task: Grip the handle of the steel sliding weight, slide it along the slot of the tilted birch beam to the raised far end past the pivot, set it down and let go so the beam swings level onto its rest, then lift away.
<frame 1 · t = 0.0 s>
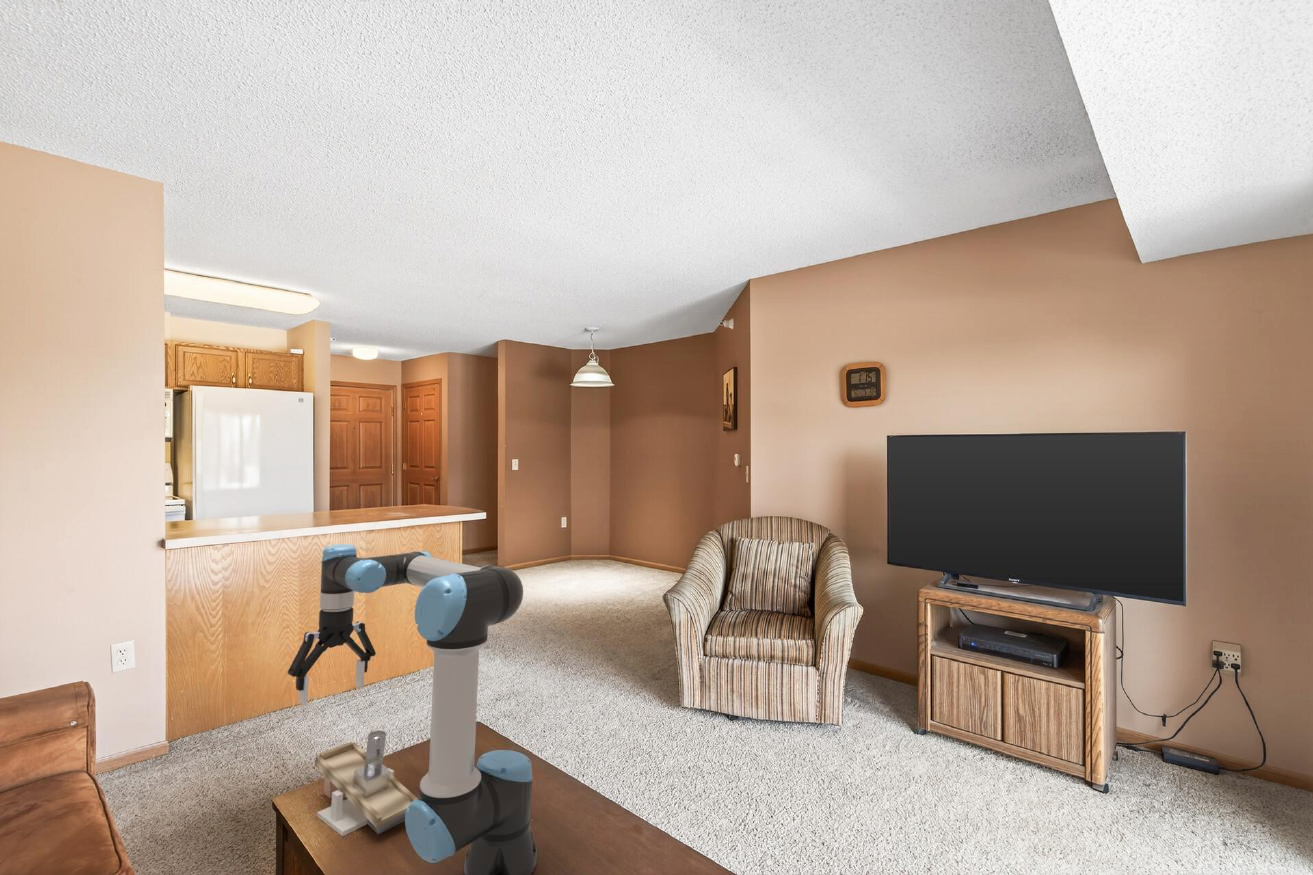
hand: (332, 694, 147), 28 cm above the table, tool pointing down, fingers open, 13 cm apart
stand: (362, 810, 146), on the table
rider: (370, 786, 145), point 7 cm above the table, tilted 8°, touching beam
beam: (364, 784, 147), point 6 cm above the table, hinge at -8.2°, touching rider
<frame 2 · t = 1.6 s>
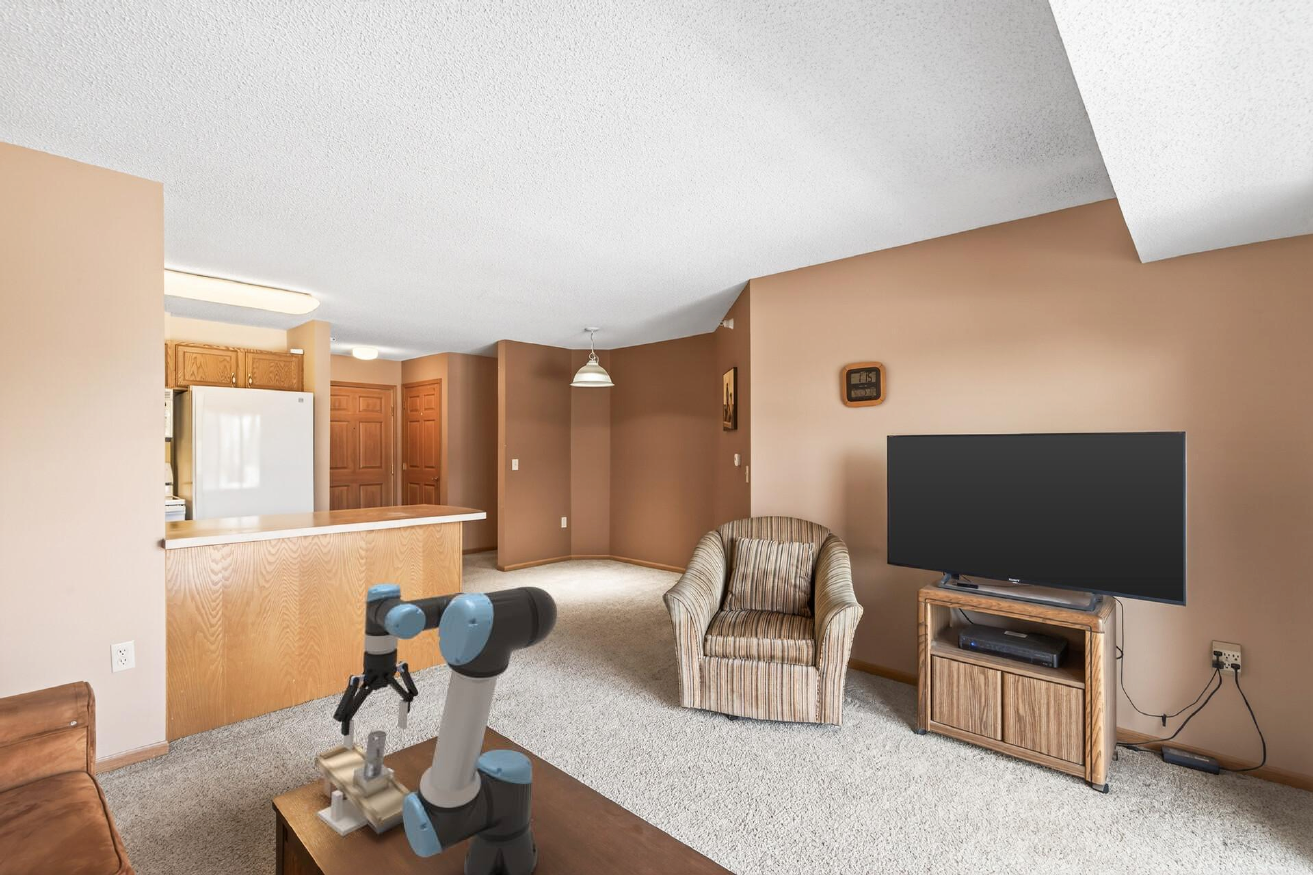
hand: (376, 737, 145), 19 cm above the table, tool pointing down, fingers open, 13 cm apart
nothing on the table moved.
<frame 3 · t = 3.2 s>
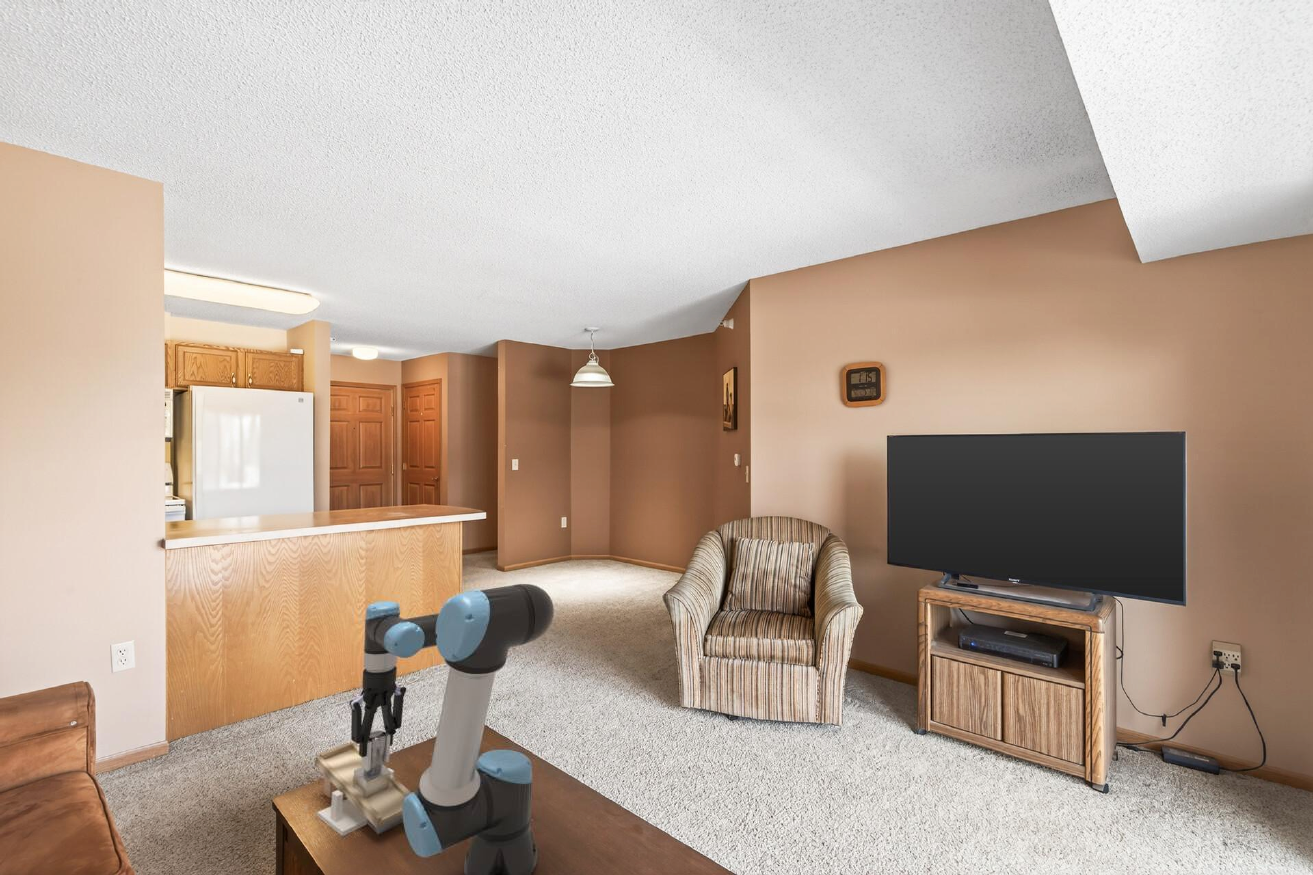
hand: (375, 764, 144), 13 cm above the table, tool pointing down, fingers closed on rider, 4 cm apart
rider: (370, 786, 145), point 7 cm above the table, tilted 8°, touching beam, gripper
everything else where it was.
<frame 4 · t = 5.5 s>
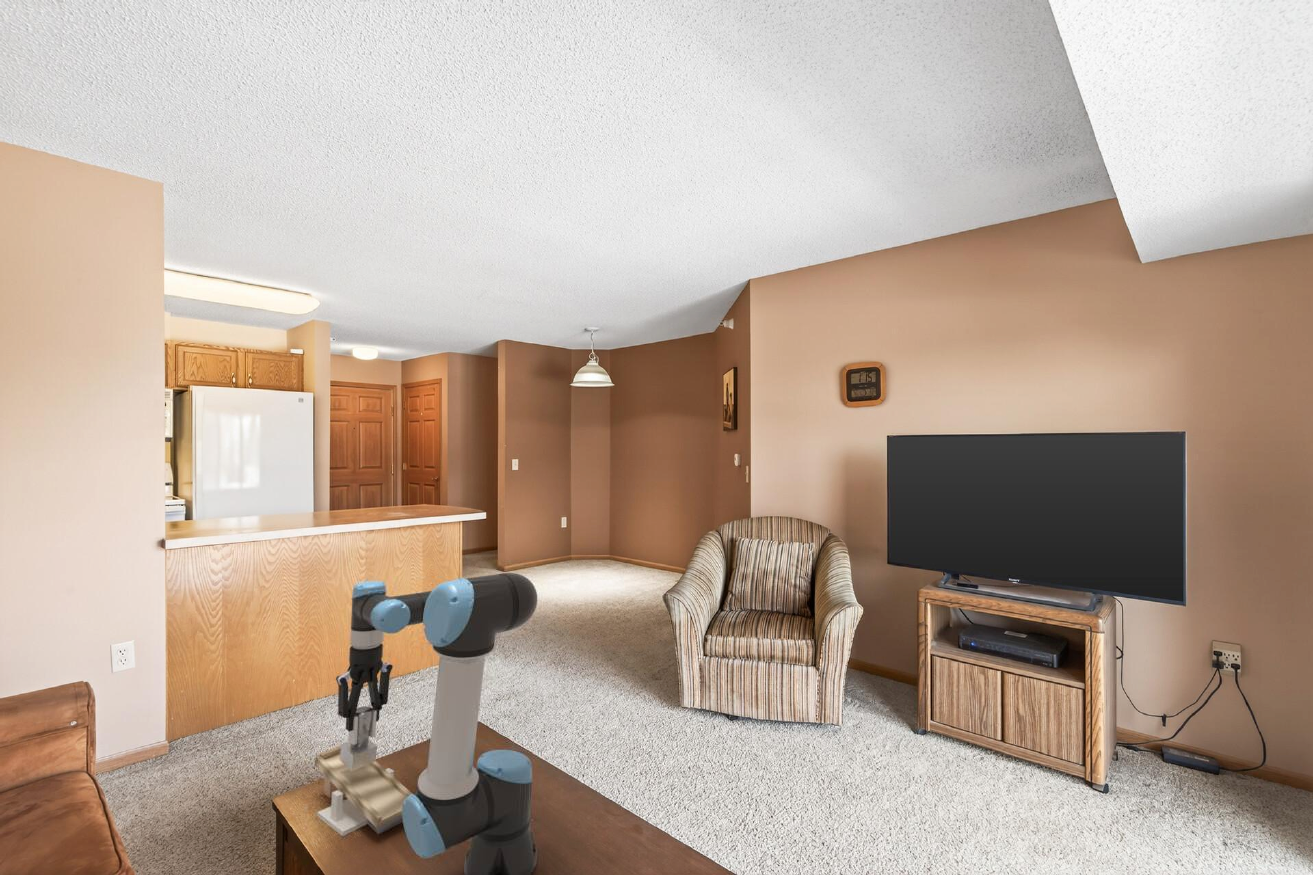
hand: (361, 738, 148), 17 cm above the table, tool pointing down, fingers closed on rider, 4 cm apart
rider: (357, 760, 149), point 11 cm above the table, tilted 8°, touching gripper
beam: (364, 784, 147), point 6 cm above the table, hinge at -8.2°
everything else where it was.
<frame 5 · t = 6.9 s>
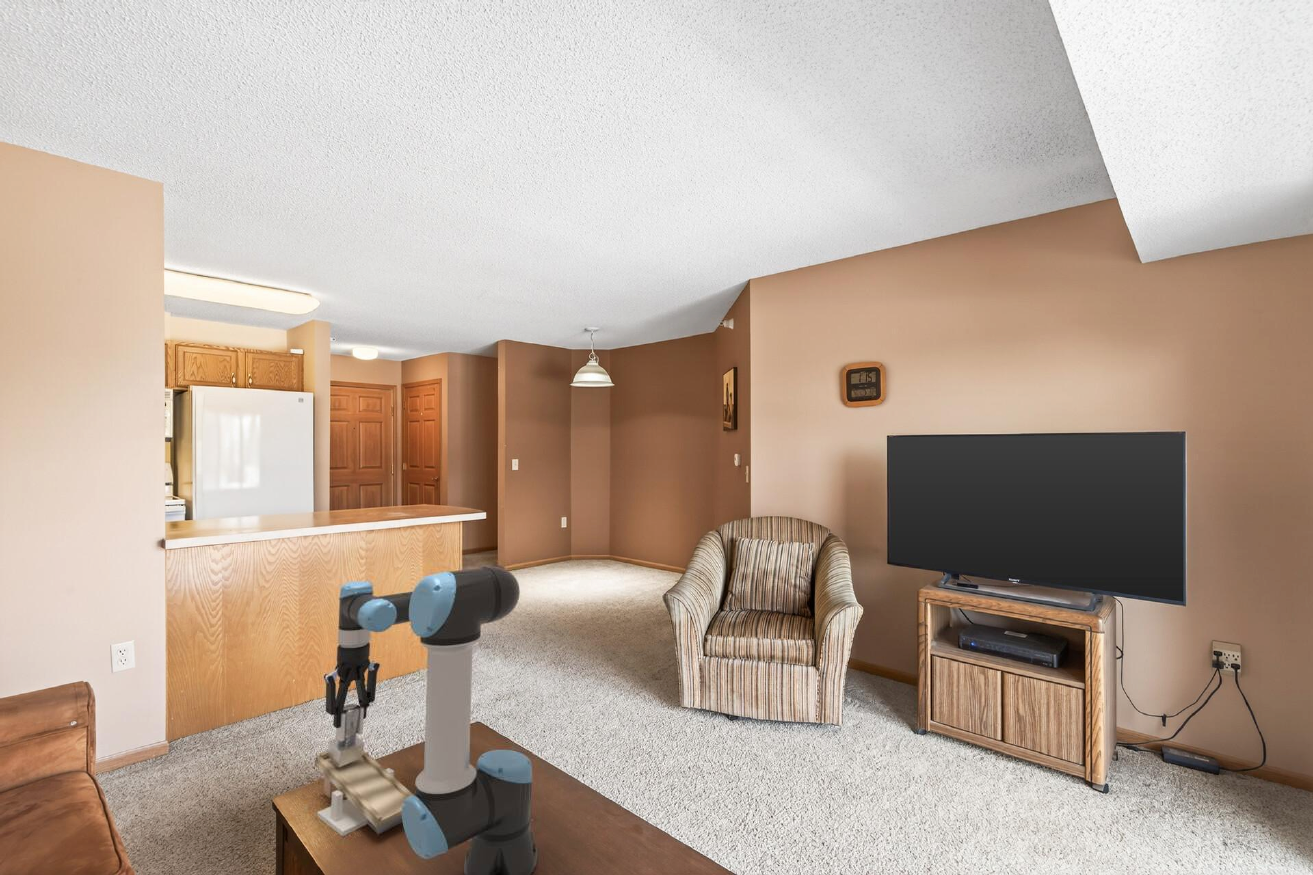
hand: (349, 735, 152), 16 cm above the table, tool pointing down, fingers closed on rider, 4 cm apart
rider: (344, 756, 152), point 10 cm above the table, tilted 8°, touching gripper
everything else where it was.
when the fingers open (15 cm above the table, at t = 7.6 s): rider drops 2 cm, resting on beam.
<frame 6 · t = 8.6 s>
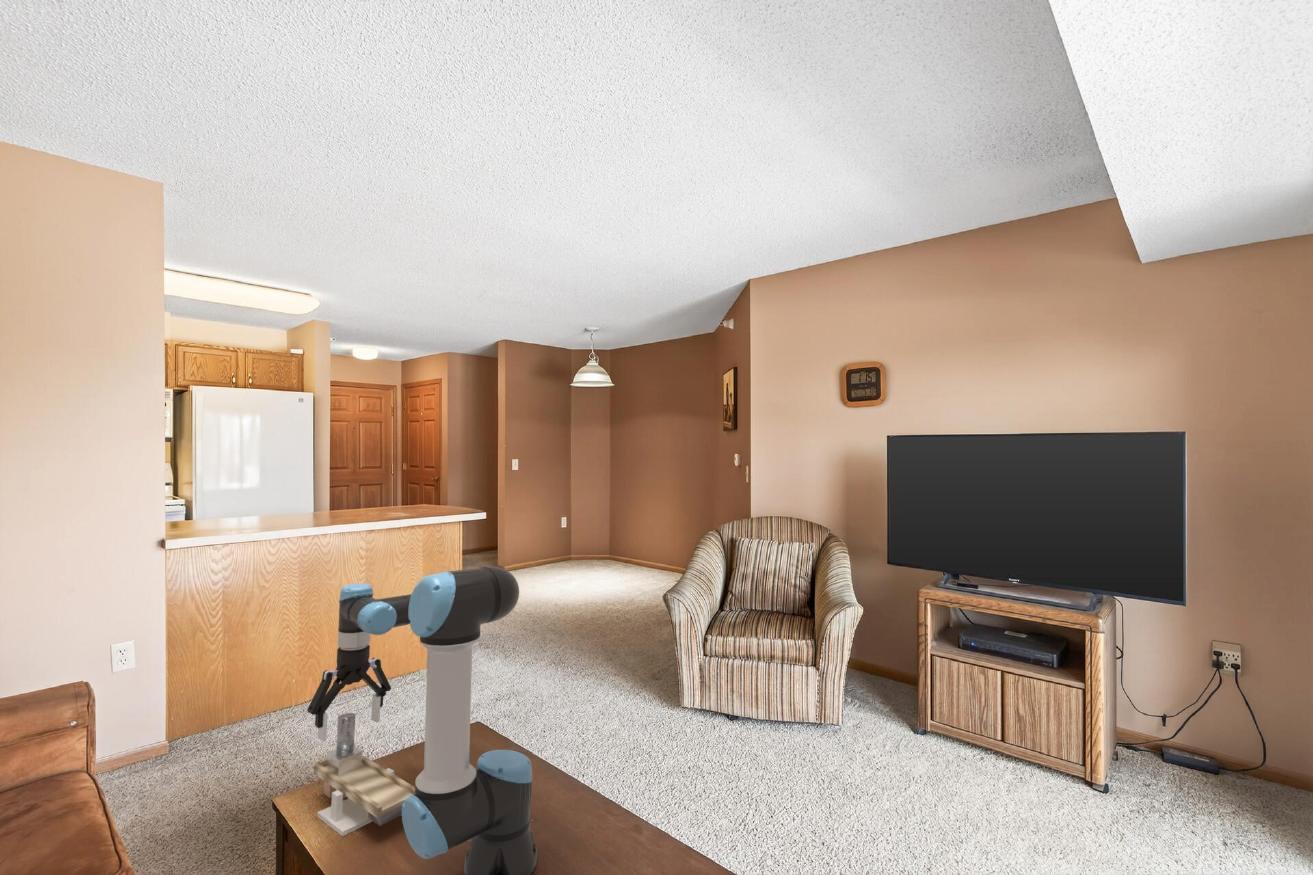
hand: (349, 729, 152), 17 cm above the table, tool pointing down, fingers open, 13 cm apart
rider: (344, 767, 152), point 7 cm above the table, touching beam
beam: (364, 784, 147), point 6 cm above the table, hinge at 0.2°, touching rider
everything else where it was.
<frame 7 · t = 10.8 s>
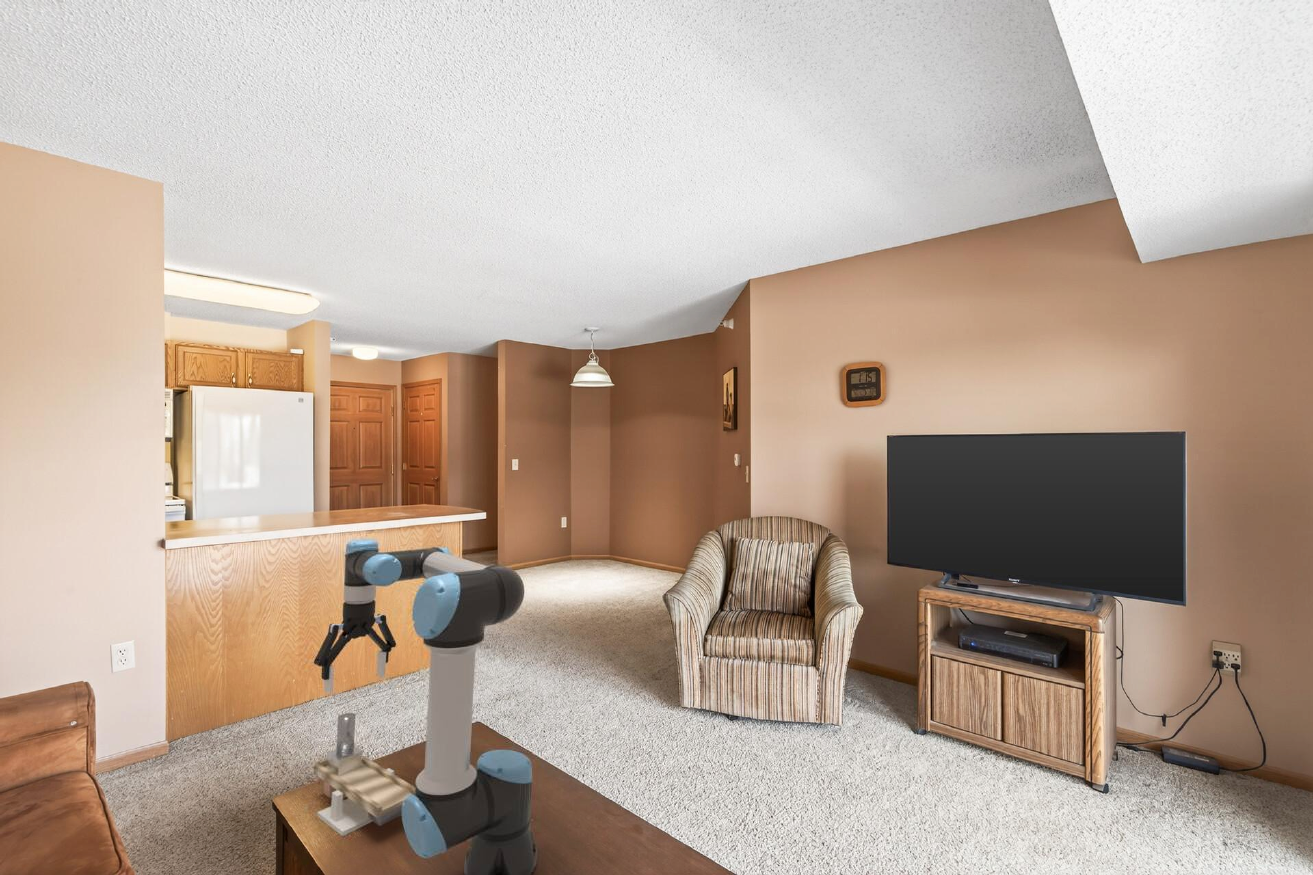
hand: (355, 683, 152), 29 cm above the table, tool pointing down, fingers open, 13 cm apart
nothing on the table moved.
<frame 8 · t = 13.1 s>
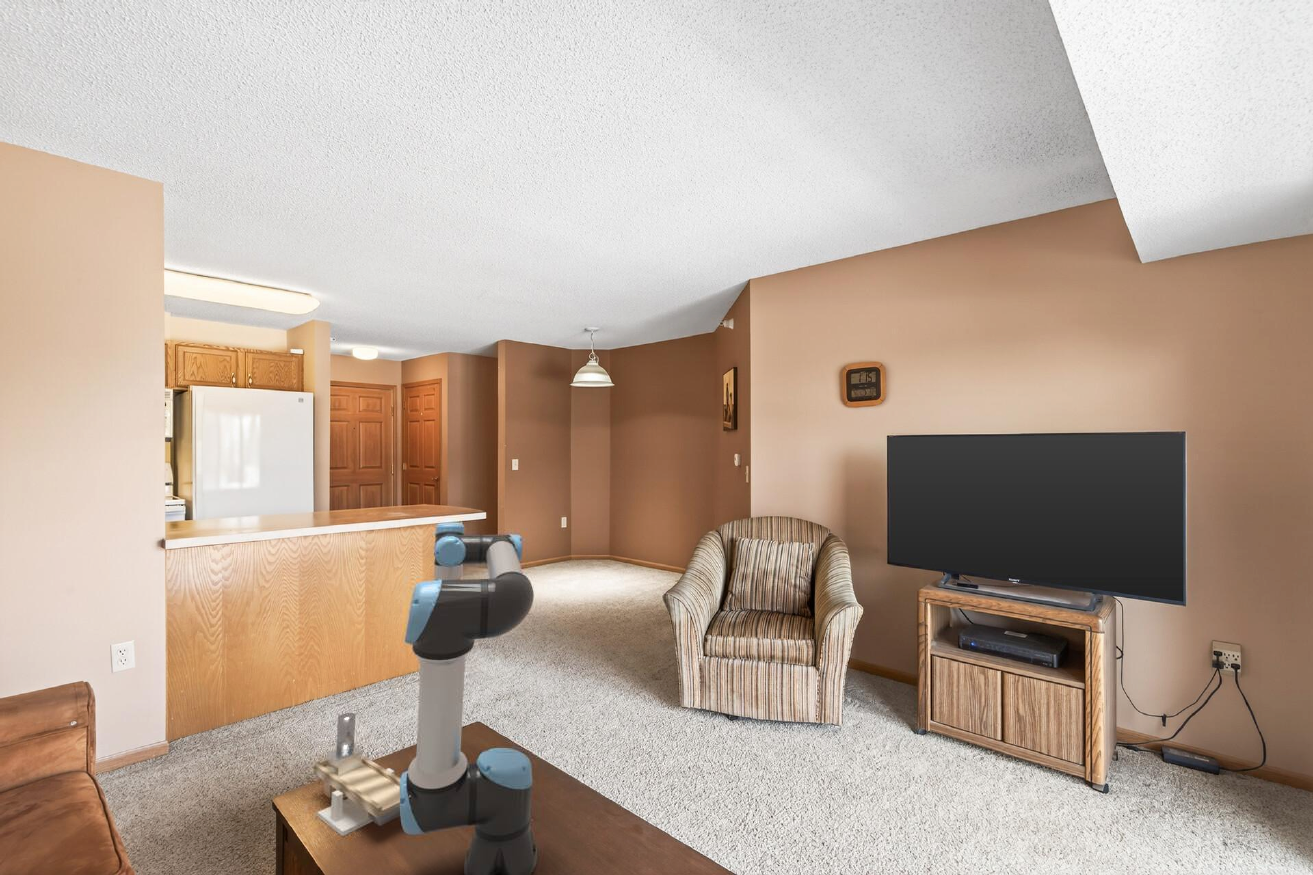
hand: (444, 657, 163), 33 cm above the table, tool pointing down, fingers open, 13 cm apart
nothing on the table moved.
at the end: beam at +0° (first picture: -8°); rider 0.2 cm from the target spot on the beam, point 1.2 cm above the beam's base; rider tilted 0° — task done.
